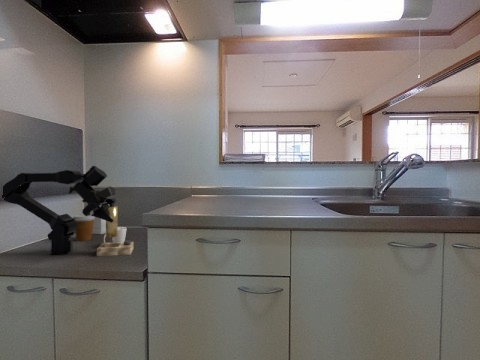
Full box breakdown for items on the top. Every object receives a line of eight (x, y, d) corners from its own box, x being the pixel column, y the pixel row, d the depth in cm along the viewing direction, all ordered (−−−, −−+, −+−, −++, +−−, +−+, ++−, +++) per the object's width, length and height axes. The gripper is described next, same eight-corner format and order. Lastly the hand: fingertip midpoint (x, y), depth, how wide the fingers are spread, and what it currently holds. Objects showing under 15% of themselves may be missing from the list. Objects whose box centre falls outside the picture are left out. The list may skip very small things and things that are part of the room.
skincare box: (109, 232, 148) (109, 204, 148) (100, 234, 141) (101, 206, 141) (96, 231, 150) (97, 204, 149) (87, 233, 143) (87, 205, 143)
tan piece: (106, 238, 106) (107, 207, 106) (104, 235, 110) (105, 206, 110) (118, 236, 109) (118, 206, 109) (116, 234, 112) (116, 205, 112)
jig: (96, 256, 104) (96, 245, 104) (102, 249, 113) (102, 239, 113) (130, 254, 107) (130, 243, 107) (133, 248, 116) (133, 238, 116)
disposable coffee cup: (67, 241, 126) (68, 216, 126) (82, 236, 136) (82, 213, 136) (85, 242, 125) (85, 217, 125) (99, 237, 134) (99, 214, 134)
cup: (129, 246, 120) (129, 228, 120) (106, 250, 113) (106, 231, 113) (123, 243, 125) (123, 226, 125) (101, 246, 118) (101, 229, 118)
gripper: (90, 180, 99) (120, 210, 100) (112, 180, 118) (136, 204, 119) (69, 201, 99) (98, 230, 100) (94, 197, 118) (119, 221, 118)
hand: (115, 220), depth 109 cm, fingers closed on tan piece, 4 cm apart
